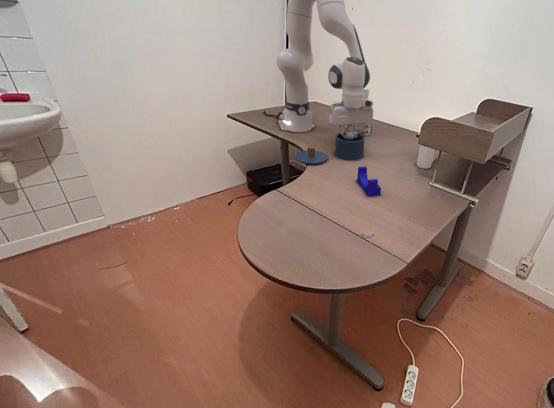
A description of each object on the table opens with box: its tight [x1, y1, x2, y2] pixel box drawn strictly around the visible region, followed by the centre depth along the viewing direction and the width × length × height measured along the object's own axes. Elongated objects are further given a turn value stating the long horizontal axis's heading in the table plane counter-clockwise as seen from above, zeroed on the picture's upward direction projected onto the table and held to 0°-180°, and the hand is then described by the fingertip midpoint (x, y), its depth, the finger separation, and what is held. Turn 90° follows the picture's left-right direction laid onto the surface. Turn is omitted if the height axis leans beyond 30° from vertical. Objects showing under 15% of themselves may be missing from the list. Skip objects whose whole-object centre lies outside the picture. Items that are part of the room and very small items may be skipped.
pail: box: [334, 132, 366, 161], centre depth 133 cm, size 13×13×8 cm
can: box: [416, 144, 435, 170], centre depth 128 cm, size 6×6×12 cm
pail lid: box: [294, 145, 328, 165], centre depth 127 cm, size 14×14×5 cm
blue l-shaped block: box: [356, 166, 382, 198], centre depth 108 cm, size 12×4×6 cm, turn 21°
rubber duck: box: [343, 124, 358, 140], centre depth 130 cm, size 5×7×8 cm
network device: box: [353, 88, 371, 137], centre depth 163 cm, size 26×9×20 cm, turn 178°
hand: (350, 133), depth 130 cm, fingers closed on rubber duck, 6 cm apart
